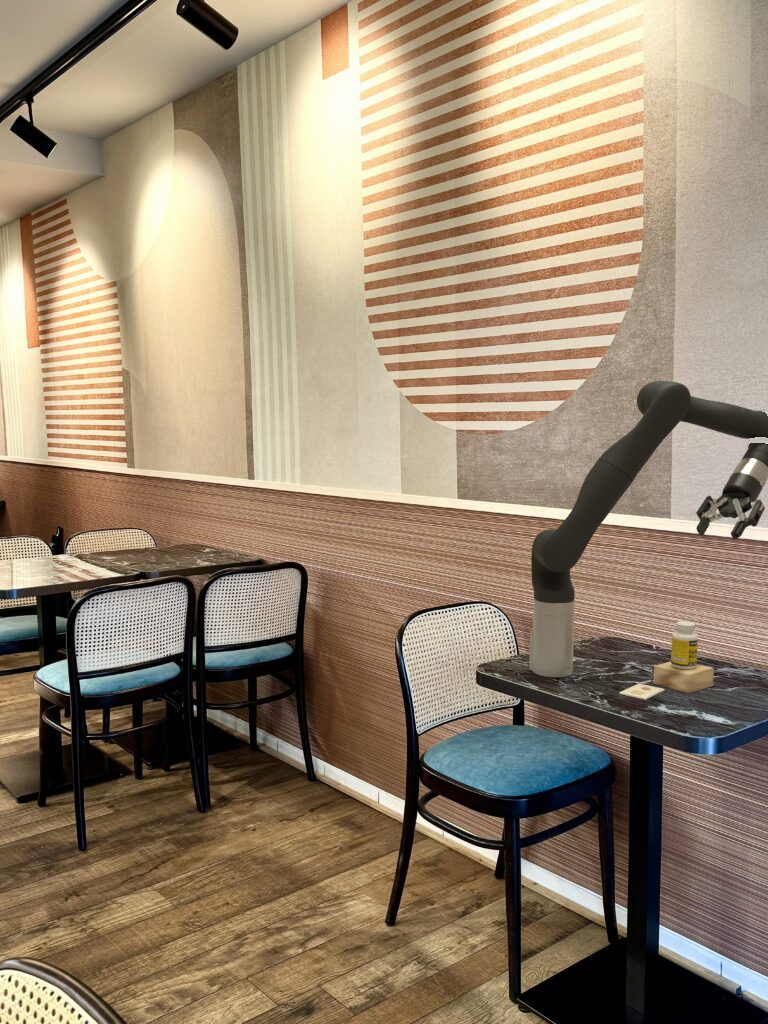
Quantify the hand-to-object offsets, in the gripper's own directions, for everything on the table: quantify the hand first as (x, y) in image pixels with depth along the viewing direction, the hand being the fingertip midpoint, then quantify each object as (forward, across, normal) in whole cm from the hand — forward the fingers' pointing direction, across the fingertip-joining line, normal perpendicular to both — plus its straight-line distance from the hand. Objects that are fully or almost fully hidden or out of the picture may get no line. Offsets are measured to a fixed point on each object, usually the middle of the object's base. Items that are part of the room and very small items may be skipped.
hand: (716, 535), depth 203 cm
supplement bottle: (+28, 0, +13) cm, 31 cm away
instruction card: (+39, -2, +7) cm, 40 cm away
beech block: (+31, 0, +16) cm, 34 cm away
